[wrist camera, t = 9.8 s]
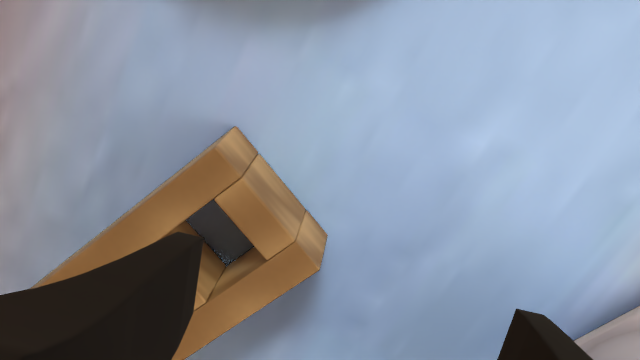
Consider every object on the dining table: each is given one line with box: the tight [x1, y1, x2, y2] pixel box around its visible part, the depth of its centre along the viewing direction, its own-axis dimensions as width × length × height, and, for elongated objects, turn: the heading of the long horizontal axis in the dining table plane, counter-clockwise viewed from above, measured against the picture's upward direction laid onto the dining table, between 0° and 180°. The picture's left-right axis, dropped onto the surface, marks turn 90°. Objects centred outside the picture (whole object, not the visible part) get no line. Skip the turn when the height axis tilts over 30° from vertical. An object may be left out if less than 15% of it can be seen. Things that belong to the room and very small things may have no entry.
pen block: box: [30, 126, 328, 360], centre depth 24 cm, size 6×15×3 cm, turn 128°
